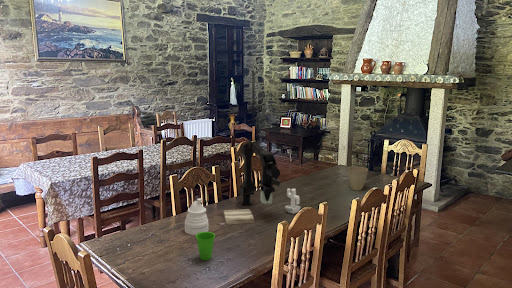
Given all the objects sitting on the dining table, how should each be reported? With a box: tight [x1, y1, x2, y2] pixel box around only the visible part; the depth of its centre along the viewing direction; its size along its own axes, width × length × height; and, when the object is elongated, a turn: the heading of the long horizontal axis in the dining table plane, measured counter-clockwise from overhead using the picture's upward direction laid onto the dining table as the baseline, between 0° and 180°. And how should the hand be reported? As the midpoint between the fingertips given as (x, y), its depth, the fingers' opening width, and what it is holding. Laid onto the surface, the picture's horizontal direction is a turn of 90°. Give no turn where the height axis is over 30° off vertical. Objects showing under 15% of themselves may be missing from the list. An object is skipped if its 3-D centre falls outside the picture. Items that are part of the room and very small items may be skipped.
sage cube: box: [260, 190, 273, 205], centre depth 233 cm, size 6×6×6 cm
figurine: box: [284, 188, 302, 215], centre depth 241 cm, size 7×9×15 cm
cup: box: [195, 231, 216, 261], centre depth 180 cm, size 9×9×11 cm
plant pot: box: [347, 166, 369, 191], centre depth 293 cm, size 15×15×16 cm
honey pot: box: [184, 198, 209, 236], centre depth 211 cm, size 13×13×18 cm
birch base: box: [223, 208, 255, 225], centre depth 230 cm, size 16×16×2 cm
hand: (266, 199), depth 233 cm, fingers closed on sage cube, 6 cm apart
